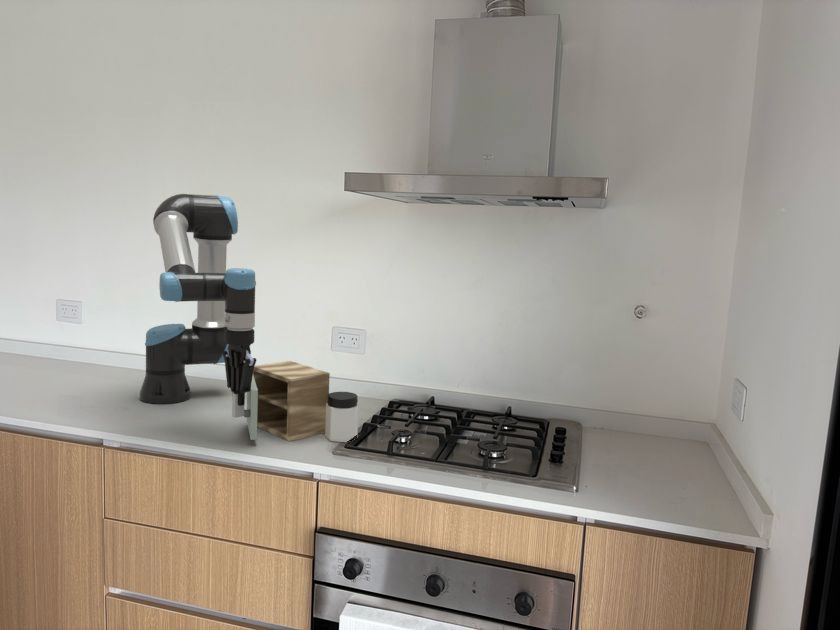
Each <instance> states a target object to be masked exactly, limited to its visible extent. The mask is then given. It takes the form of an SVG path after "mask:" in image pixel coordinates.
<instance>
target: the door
mask: <svg viewBox="0 0 840 630" xmlns="http://www.w3.org/2000/svg"><path fill="white" fill-rule="evenodd" d="M257 405H258V389H257V386H256V383H255V379H254V376H252V382H251V389H250V392H246V409H244V416H243V418H246V424H247V429H248V434H249V438H250V440H251V441H253V440H257V439H258V427H257Z"/></svg>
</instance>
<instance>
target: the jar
mask: <svg viewBox="0 0 840 630" xmlns="http://www.w3.org/2000/svg"><path fill="white" fill-rule="evenodd" d="M358 426H359V405H358V395H357V394H356V393H354V392H350V391H333V392H329V394H328V403H327V404H326V424H325V433H324V436H325V438H326V439H327V440H328V441H330V442H333V443H335V442H337V443H348V442H347V441H349V440H350V439H351V438H353V437H354V436H356V435H357V436H358V428H359V427H358ZM349 442H350V441H349Z"/></svg>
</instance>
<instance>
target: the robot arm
mask: <svg viewBox="0 0 840 630" xmlns="http://www.w3.org/2000/svg"><path fill="white" fill-rule="evenodd" d="M152 220H153V229H154V232H155V233H156V234H157V235H158V237H159V241H160V242H159V243H160V248H161V254H162V259H163V265H164V271H165V272H162V273H160V275H159V284H158V286H159V287H158V288H159V295H160V298H161V300H162V301H166V302H175V303H178V302H196V303H197V304H196V306H197V308H196V309H197V310H196V311H197V312H196V313H197V314H196V318H195V319H194V320H192V323H191V327H190V328H186V326H185V325H184V324H183V323H167V324H162V325H156V326H153V327H150V328H149V329H148V330H146V331H147V332H146V334H145V343H144V346H145V376H144V379H143V382H142V385H141V388H140V391H139V400H140V401H142V402H144V403H146V404H147V403H148V404H156V405H159V404H160V405H163V404H166V405H167V404H175V403H181V402H185V401H187V400H189V399H190V398H191V395H192V394H191V388H190V384H189V381H188V379H187V376H186V368H185V367H186V366H189V365H190V366H191V365H207V364H209V365H210V364H211V365H217V364H223V363H224V368H225V376H226V384H227V385H226V386H227V388H228V389H230V392H231V393H232V396H231V397H232V400H231V401H232V402H231V403H232V404H231V405H232V409H231V411H232V415H231V417H232V418H234V419H235V418H242V417H244V410H245V403H246V402H245V397H246V394H247V392H250V389H251V382H252V376H253V370H254V366H255V365H256V364H257V358H256V357H252V356H251V354H252V351H251V345H253V344H254V343H255V330H254V327H255V326H256V325H255V324H256V318H255V317H256V310H255V309H256V308H255V307H256V306H255V305H256V285H257V281H256V271H254V269H251V268H236V267H235V268H228V269H227V252H228V251H227V250H228V249H227V247H228V244H229V243H231V242H232V240H233V235H237V234H238V229H239V220H238V211H237V208H236V205H235V202H234V200H233V199H232V198H230V197H229V196H222V195H212V194H211V195H208V194H192V193H191V194H188V193H179V194H175V195H171V196H170V197H168V198H166V199H165V200H163V201H162V202H161V203H160V204H159V206H158V207H157V208H156V209H155V212H154V215H153V218H152ZM188 233H193V234H192V235H193V238H192V239H193V240H195V242H196V243H197V245H198V251H197V253H198V255H197V261H198V262H197V272H196V268H195V264H194V260H193V255H192V251H191V246H190V243H189V242H190V241H189V237H188Z"/></svg>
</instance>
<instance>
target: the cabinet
mask: <svg viewBox="0 0 840 630" xmlns="http://www.w3.org/2000/svg"><path fill="white" fill-rule="evenodd" d="M330 375H331V374H330V372H328V371H325V370H322V369H318V368H315V367H312V366H308V365H305V364H301V363H299V362H296V361H292V360H286V361H285V360H284V361H278V362H272V363H271V362H270V363H264V364H255V366H254V370H253V376H254V379H255V383H256V386H257V389H258V405H257V428H259V429H261V430H263V431H266V432H268V433H270V434H272V435H275V436H276V437H279V438H281V439H283V440H285V441H288V442H292V441H295V440H299V439H303V438H308V437H311V436H317V435H320V434H325V424H326V404H327V403H328V394H330V377H331V376H330Z"/></svg>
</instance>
